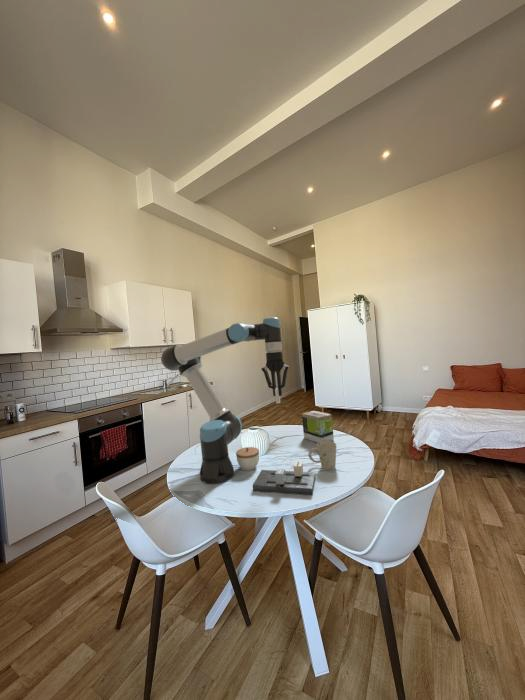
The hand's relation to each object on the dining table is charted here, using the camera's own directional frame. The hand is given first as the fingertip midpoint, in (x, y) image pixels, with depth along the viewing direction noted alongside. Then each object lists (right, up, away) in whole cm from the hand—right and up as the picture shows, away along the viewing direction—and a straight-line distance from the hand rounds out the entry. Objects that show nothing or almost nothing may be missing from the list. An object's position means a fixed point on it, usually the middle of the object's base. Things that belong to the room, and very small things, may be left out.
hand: (278, 402), depth 128 cm
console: (+2, -30, -16) cm, 34 cm away
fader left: (+8, -26, -14) cm, 31 cm away
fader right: (0, -27, -19) cm, 33 cm away
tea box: (+25, -27, +32) cm, 48 cm away
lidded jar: (-14, -31, +2) cm, 34 cm away
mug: (+20, -28, -3) cm, 35 cm away
